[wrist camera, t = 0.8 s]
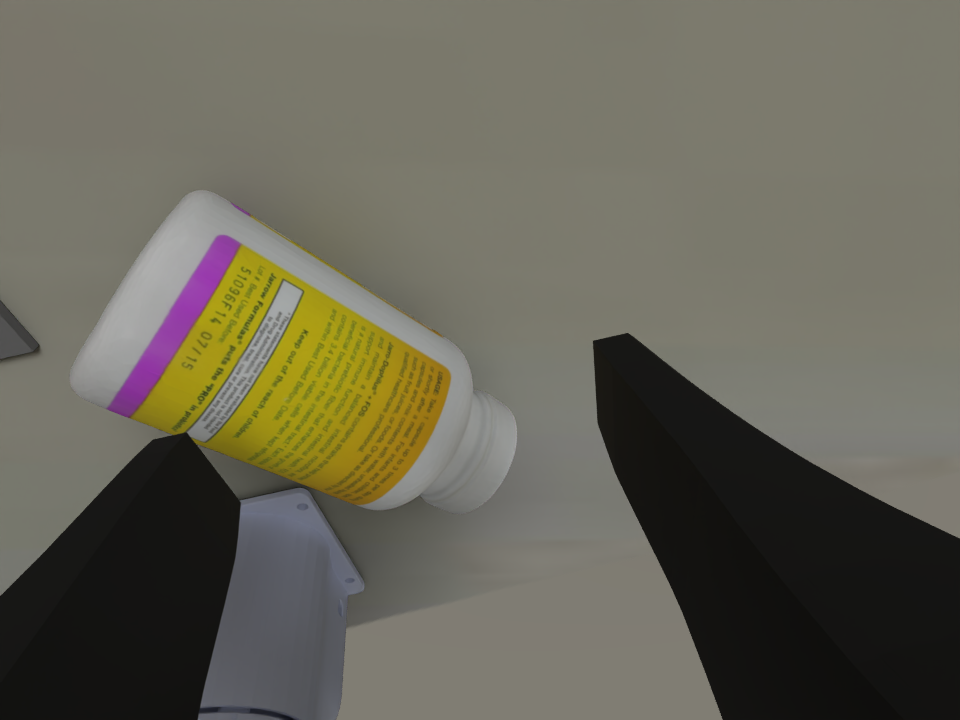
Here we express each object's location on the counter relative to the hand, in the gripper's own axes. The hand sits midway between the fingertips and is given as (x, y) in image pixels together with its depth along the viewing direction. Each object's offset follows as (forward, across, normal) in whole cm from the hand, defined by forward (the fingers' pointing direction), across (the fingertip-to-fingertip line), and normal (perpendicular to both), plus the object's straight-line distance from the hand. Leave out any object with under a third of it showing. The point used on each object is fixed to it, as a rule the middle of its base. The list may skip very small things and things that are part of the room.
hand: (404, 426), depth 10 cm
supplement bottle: (+7, +8, -1) cm, 10 cm away
